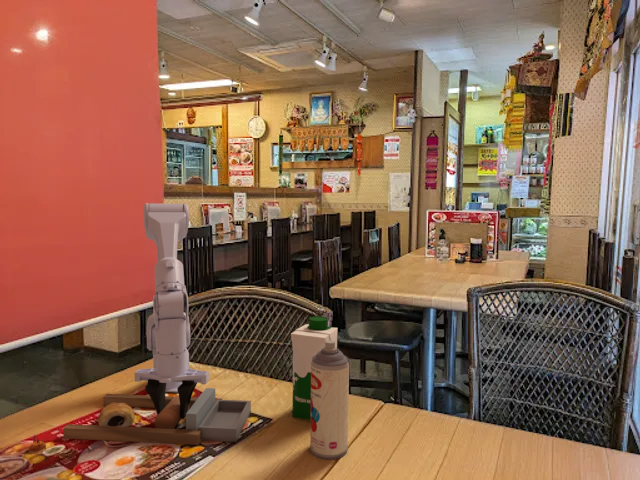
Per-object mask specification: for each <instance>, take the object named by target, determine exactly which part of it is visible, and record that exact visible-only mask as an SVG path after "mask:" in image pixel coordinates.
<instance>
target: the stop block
mask: <svg viewBox="0 0 640 480" xmlns="http://www.w3.org/2000/svg"><path fill="white" fill-rule="evenodd" d="M197 398H198V399H197V400H196V401H195V403H194V404H193V405H192V407H191V408H190V409H188V412H187V413H186V417H185V430H198V427H199V426H200V424H201V423H202V421H203V420H204V418H205V417H206V415H207V414H208V413H209V411H210V410H211V408H212V407H213V405H214V404H215V402H216V401H215V398H216V388H215V387H206V388H204V390H203V391H202V392H201V394H200V395H199V396H198V397H197Z"/></svg>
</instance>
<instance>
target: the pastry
mask: <svg viewBox="0 0 640 480" xmlns="http://www.w3.org/2000/svg"><path fill="white" fill-rule="evenodd" d="M135 419H136V415H135V412H134V409H133V407H130V406H128V405H127V404H126V403H111V404H109V405H108V406H104V407H103V408H102V409H101V411H100V412H99V414H98V418H97V421H98V426H117V427H131V425H133V423H134V422H135Z"/></svg>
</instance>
